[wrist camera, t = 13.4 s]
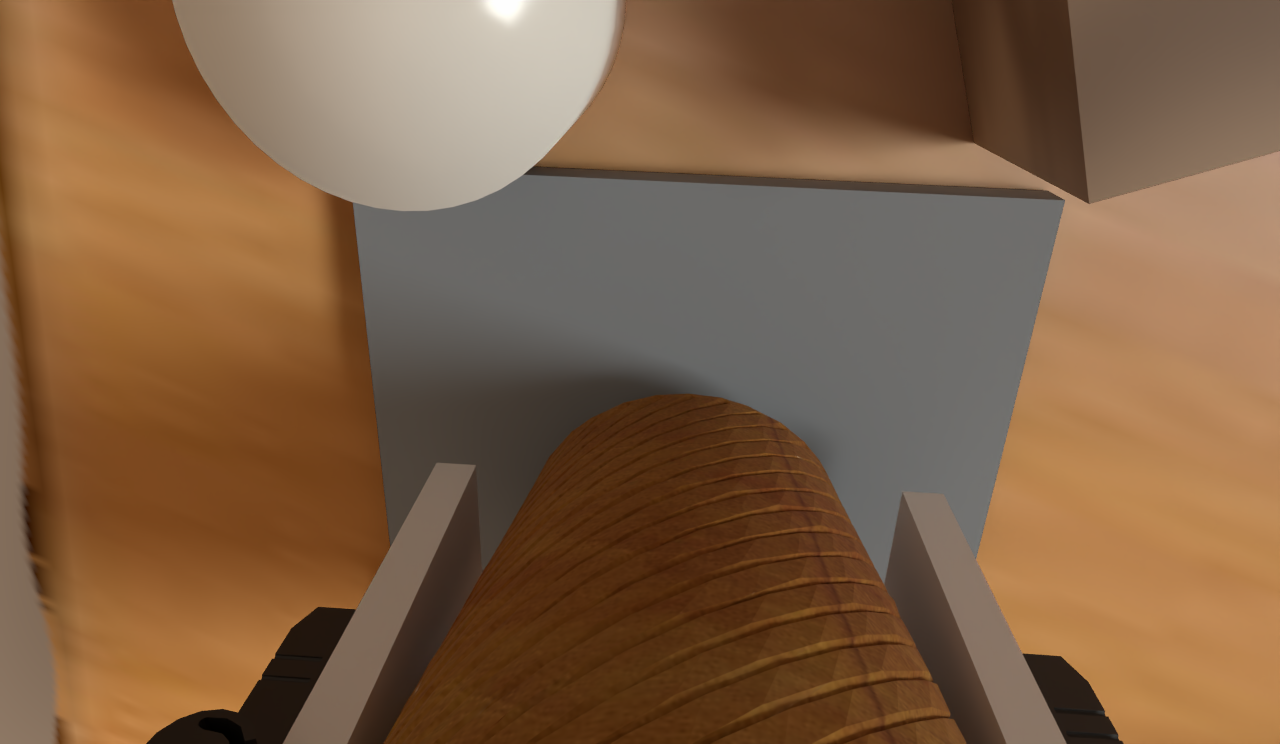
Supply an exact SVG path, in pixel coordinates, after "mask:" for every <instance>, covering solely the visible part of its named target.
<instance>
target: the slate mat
mask: <svg viewBox="0 0 1280 744" xmlns="http://www.w3.org/2000/svg"><path fill="white" fill-rule="evenodd" d="M1064 202H1065V200H1063V199H1062V198H1060V197H1058V196H1056V195H1054V194H1053V193H1051V192H1049V191H1042V190H1021V189H999V188H978V187H957V186H935V185H914V184H893V183H871V182H850V181H829V180H807V179H786V178H765V177H743V176H722V175H701V174H679V173H658V172H637V171H615V170H594V169H573V168H551V167H532V168H530V169H529V170H528V171H527V172H526V173H525V174H523V175H522V176H521V177H519V178H518V179H516V180H514V181H513V182H511V183H510V184H508V185H507V186H505V187H504V188H502V189H500V190H498V191H496V192H494V193H492V194H489V195H487V196H485V197H483V198H481V199H478V200H475V201H472V202H469V203H465V204H462V205H458V206H455V207H450V208H443V209H437V210H430V211H397V210H388V209H380V208H374V207H370V206H366V205H362V204H358V203H354V202H353V209H354V218H355V227H356V236H357V246H358V255H359V264H360V273H361V282H362V291H363V301H364V310H365V319H366V328H367V337H368V347H369V356H370V365H371V374H372V383H373V392H374V402H375V411H376V420H377V429H378V438H379V448H380V457H381V466H382V475H383V484H384V493H385V503H386V512H387V521H388V530H389V539H390V547H391V545H392V543H393V542H394V540H395V538H396V536H397V534H398V533H399V531H400V529H401V527H402V525H403V523H404V522H405V520H406V518H407V516H408V514H409V512H410V511H411V509H412V507H413V505H414V503H415V501H416V500H417V498H418V496H419V494H420V492H421V491H422V489H423V487H424V485H425V483H426V481H427V480H428V478H429V476H430V474H431V472H432V470H433V469H434V467H435V465H436V463H451V464H468V465H476V472H477V491H478V509H479V527H480V546H481V564H482V572H483V570H484V569H485V567H486V566H487V564H488V563H489V561H490V560H491V558H492V556H493V554H494V553H495V551H496V549H497V548H498V546H499V544H500V542H501V541H502V539H503V537H504V535H505V534H506V532H507V530H508V529H509V527H510V525H511V523H512V522H513V520H514V518H515V516H516V515H517V513H518V511H519V509H520V508H521V506H522V504H523V503H524V501H525V499H526V497H527V496H528V494H529V492H530V490H531V489H532V487H533V485H534V483H535V482H536V480H537V478H538V476H539V474H540V472H541V471H542V469H543V467H544V465H545V463H546V462H547V460H548V458H549V456H550V455H551V454H552V453H553V452H554V451H555V450H556V448H557V447H558V446H559V445H560V444H561V443H562V442H563V441H564V439H565V438H566V437H567V436H568V435H569V434H570V433H571V432H572V431H573V430H575V429H576V428H577V427H579V426H580V425H582V424H583V423H585V422H586V421H587V420H589V419H590V418H592V417H594V416H596V415H598V414H601V413H603V412H605V411H607V410H609V409H611V408H613V407H616V406H618V405H620V404H622V403H624V402H628V401H632V400H637V399H641V398H645V397H650V396H654V395H668V394H697V395H704V396H712V397H720V398H724V399H727V400H731V401H734V402H737V403H740V404H743V405H747V406H749V407H751V408H753V409H755V410H757V411H759V412H761V413H763V414H765V415H767V416H769V417H771V418H773V419H775V420H777V421H779V422H781V423H782V424H783V425H784V426H786V427H787V428H788V429H789V430H791V431H792V432H793V433H794V434H796V435H797V436H798V437H799V438H800V439H802V440H803V441H804V442H805V443H806V444H807V446H808V447H809V448H810V449H811V451H812V452H813V453H814V454H815V455H816V457H817V458H818V459H819V461H820V462H821V464H822V466H823V467H824V469H825V471H826V473H827V475H828V477H829V479H830V481H831V483H832V485H833V487H834V489H835V491H836V493H837V495H838V497H839V499H840V501H841V503H842V506H843V507H844V509H845V511H846V513H847V515H848V517H849V519H850V521H851V523H852V525H853V526H854V528H855V530H856V532H857V534H858V536H859V538H860V540H861V542H862V544H863V546H864V547H865V549H866V551H867V553H868V555H869V557H870V559H871V561H872V563H873V565H874V567H875V569H876V570H877V572H878V574H879V576H880V578H881V580H882V581H883V583H885V577H886V572H887V567H888V562H889V557H890V552H891V547H892V542H893V537H894V531H895V526H896V521H897V516H898V511H899V506H900V501H901V496H902V491H905V492H921V493H937V494H944V496H945V498H946V500H947V502H948V504H949V506H950V508H951V510H952V512H953V514H954V516H955V518H956V520H957V522H958V524H959V526H960V529H961V531H962V533H963V535H964V537H965V539H966V541H967V543H968V545H969V547H970V549H971V551H972V553H973V555H974V557H975V559H976V557H977V553H978V549H979V545H980V541H981V537H982V533H983V529H984V525H985V521H986V517H987V513H988V509H989V505H990V501H991V496H992V492H993V488H994V484H995V480H996V476H997V472H998V468H999V464H1000V460H1001V456H1002V452H1003V448H1004V444H1005V440H1006V436H1007V432H1008V428H1009V424H1010V420H1011V416H1012V412H1013V408H1014V404H1015V400H1016V396H1017V392H1018V388H1019V384H1020V380H1021V376H1022V372H1023V368H1024V364H1025V359H1026V355H1027V351H1028V347H1029V343H1030V339H1031V335H1032V331H1033V327H1034V323H1035V319H1036V315H1037V311H1038V307H1039V303H1040V299H1041V295H1042V291H1043V287H1044V283H1045V279H1046V275H1047V271H1048V267H1049V263H1050V259H1051V255H1052V251H1053V247H1054V243H1055V239H1056V235H1057V231H1058V227H1059V223H1060V218H1061V214H1062V210H1063V206H1064Z"/></svg>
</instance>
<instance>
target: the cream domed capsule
mask: <svg viewBox="0 0 1280 744" xmlns="http://www.w3.org/2000/svg"><path fill="white" fill-rule="evenodd" d="M172 1H173V5H174V10H175V14H176V17H177V20H178V22H179V25H180V28H181V31H182V34H183V37H184V39H185V42H186V45H187V47H188V49H189V51H190V53H191V55H192V57H193V59H194V62H195V64H196V66H197V68H198V70H199V72H200V74H201V75H202V77H203V79H204V80H205V82H206V83H207V85H208V87H209V88H210V90H211V92H212V93H213V95H214V96H215V98H216V100H217V101H218V102H219V103H220V105H221V106H222V107H223V109H224V110H225V111H226V113H227V114H228V115H229V116H230V118H231V119H232V120H233V122H234V123H235V124H236V125H237V126H238V127H239V128H240V129H241V130H242V131H243V132H244V133H245V135H246V136H247V137H248V138H249V139H250V140H251V141H252V142H253V143H254V144H255V145H256V146H257V147H259V148H260V149H261V150H262V151H263V152H264V153H266V154H267V155H268V156H269V157H270V158H272V159H273V160H274V161H275V162H276V163H277V164H279V165H280V166H282V167H283V168H285V169H286V170H288V171H289V172H291V173H292V174H294V175H295V176H297V177H298V178H300V179H301V180H303V181H305V182H307V183H309V184H311V185H313V186H315V187H317V188H319V189H320V190H322V191H324V192H326V193H329V194H332V195H334V196H337V197H340V198H342V199H345V200H348V201H350V202H354V203H358V204H362V205H366V206H370V207H374V208H380V209H388V210H397V211H430V210H437V209H443V208H450V207H455V206H458V205H462V204H465V203H469V202H472V201H475V200H478V199H481V198H483V197H485V196H487V195H489V194H492V193H494V192H496V191H498V190H500V189H502V188H504V187H505V186H507V185H508V184H510V183H511V182H513V181H514V180H516V179H518V178H519V177H521V176H522V175H523V174H525V173H526V172H527V171H528V170H529V169H530V168H532V167H533V166H534V165H535V164H536V163H537V162H539V161H540V160H541V159H542V158H543V157H544V156H545V155H546V154H547V153H548V152H549V150H550V149H551V148H552V147H553V146H554V145H555V144H556V143H557V142H558V141H559V140H560V139H561V137H562V136H563V135H564V134H565V133H566V132H567V131H568V130H569V129H570V128H571V127H572V126H573V124H574V123H575V122H576V121H577V120H578V119H579V118H580V117H581V116H582V114H583V113H584V112H585V111H586V110H587V109H588V108H589V107H590V105H591V104H592V102H593V101H594V99H595V98H596V96H597V95H598V93H599V92H600V91H601V89H602V88H603V86H604V84H605V82H606V80H607V77H608V75H609V73H610V71H611V69H612V67H613V64H614V62H615V59H616V56H617V53H618V50H619V47H620V43H621V38H622V34H623V29H624V24H625V14H626V3H627V0H172Z"/></svg>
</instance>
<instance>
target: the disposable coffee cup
mask: <svg viewBox="0 0 1280 744" xmlns="http://www.w3.org/2000/svg"><path fill="white" fill-rule="evenodd" d="M932 681H933V679H932V677H931V674H930V672H929V670H928V668H927V666H926V664H925V663H924V661H923V659H922V657H921V655H920V653H919V651H918V650H917V648H916V645H915V643H914V641H913V639H912V637H911V635H910V633H909V632H908V630H907V628H906V626H905V624H904V622H903V620H901V618H900V615H899V612H898V609H897V606H896V603H895V601H894V600H893V598H892V597H891V596H890V595H889V594H888V592H887V590H886V588H885V585H884V583H883V581H882V580H881V578H880V576H879V574H878V572H877V570H876V569H875V567H874V565H873V563H872V561H871V559H870V557H869V555H868V553H867V551H866V549H865V547H864V546H863V544H862V542H861V540H860V538H859V536H858V534H857V532H856V530H855V528H854V526H853V525H852V523H851V521H850V519H849V517H848V515H847V513H846V511H845V509H844V507H843V506H842V503H841V501H840V499H839V497H838V495H837V493H836V491H835V489H834V487H833V485H832V483H831V481H830V479H829V477H828V475H827V473H826V471H825V469H824V467H823V466H822V464H821V462H820V461H819V459H818V458H817V457H816V455H815V454H814V453H813V452H812V451H811V449H810V448H809V447H808V446H807V444H806V443H805V442H804V441H803V440H802V439H800V438H799V437H798V436H797V435H796V434H794V433H793V432H792V431H791V430H789V429H788V428H787V427H786V426H784V425H783V424H782V423H781V422H779V421H777V420H775V419H773V418H771V417H769V416H767V415H765V414H763V413H761V412H759V411H757V410H755V409H753V408H751V407H749V406H747V405H743V404H740V403H737V402H734V401H731V400H727V399H724V398H720V397H712V396H704V395H697V394H668V395H654V396H650V397H645V398H641V399H637V400H632V401H628V402H624V403H622V404H620V405H618V406H616V407H613V408H611V409H609V410H607V411H605V412H603V413H601V414H598V415H596V416H594V417H592V418H590V419H589V420H587V421H586V422H585V423H583V424H582V425H580V426H579V427H577V428H576V429H575V430H573V431H572V432H571V433H570V434H569V435H568V436H567V437H566V438H565V439H564V441H563V442H562V443H561V444H560V445H559V446H558V447H557V448H556V450H555V451H554V452H553V453H552V454H551V455H550V456H549V458H548V460H547V462H546V463H545V465H544V467H543V469H542V471H541V472H540V474H539V476H538V478H537V480H536V482H535V483H534V485H533V487H532V489H531V490H530V492H529V494H528V496H527V497H526V499H525V501H524V503H523V504H522V506H521V508H520V509H519V511H518V513H517V515H516V516H515V518H514V520H513V522H512V523H511V525H510V527H509V529H508V530H507V532H506V534H505V535H504V537H503V539H502V541H501V542H500V544H499V546H498V548H497V549H496V551H495V553H494V554H493V556H492V558H491V560H490V561H489V563H488V564H487V566H486V567H485V569H484V570H483V572H482V574H481V576H480V577H479V579H478V581H477V583H476V584H475V586H474V588H473V590H472V591H471V593H470V595H469V597H468V598H467V600H466V602H465V604H464V605H463V607H462V609H461V611H460V613H459V614H458V616H457V618H456V620H455V621H454V623H453V625H452V627H451V628H450V630H449V632H448V634H447V635H446V637H445V639H444V640H443V642H442V644H441V646H440V647H439V649H438V651H437V652H436V654H435V655H434V657H433V658H432V660H431V661H430V662H429V664H428V666H427V668H426V669H425V671H424V673H423V675H422V677H421V679H420V680H419V682H418V684H417V686H416V688H415V689H414V691H413V692H412V694H411V695H410V697H409V698H408V700H407V702H406V704H405V705H404V707H403V709H402V711H401V713H400V715H399V716H398V718H397V720H396V722H395V724H394V726H393V727H392V729H391V731H390V733H389V734H388V736H387V738H386V740H385V742H384V743H383V744H967V743H966V741H965V739H964V737H963V735H962V733H961V732H960V730H959V728H958V726H957V724H956V722H955V720H954V719H948V718H949V717H950V711H949V709H948V707H947V704H946V702H945V700H944V698H943V696H942V693H941V691H940V689H939V687H938V685H937V684H935V683H933V682H932Z"/></svg>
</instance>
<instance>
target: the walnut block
mask: <svg viewBox="0 0 1280 744" xmlns="http://www.w3.org/2000/svg"><path fill="white" fill-rule="evenodd" d="M952 5H953V12H954V18H955V25H956V31H957V37H958V44H959V50H960V57H961V63H962V69H963V76H964V82H965V89H966V95H967V101H968V108H969V114H970V121H971V127H972V133H973V140H974V143H975V144H977V145H979V146H981V147H983V148H985V149H986V150H988V151H990V152H992V153H994V154H996V155H998V156H1000V157H1002V158H1003V159H1005V160H1007V161H1009V162H1011V163H1013V164H1015V165H1017V166H1019V167H1020V168H1022V169H1024V170H1026V171H1028V172H1030V173H1032V174H1034V175H1036V176H1037V177H1039V178H1041V179H1043V180H1045V181H1047V182H1049V183H1051V184H1053V185H1054V186H1056V187H1058V188H1060V189H1062V190H1064V191H1066V192H1068V193H1070V194H1071V195H1073V196H1075V197H1077V198H1079V199H1081V200H1083V201H1085V202H1087V203H1088V204H1091V203H1094V202H1098V201H1102V200H1105V199H1109V198H1112V197H1116V196H1120V195H1123V194H1127V193H1130V192H1134V191H1138V190H1141V189H1145V188H1148V187H1152V186H1156V185H1159V184H1163V183H1166V182H1170V181H1174V180H1177V179H1181V178H1184V177H1188V176H1192V175H1195V174H1199V173H1202V172H1206V171H1210V170H1213V169H1217V168H1220V167H1224V166H1228V165H1231V164H1235V163H1238V162H1242V161H1246V160H1249V159H1253V158H1256V157H1260V156H1264V155H1267V154H1271V153H1274V152H1278V151H1280V0H952Z"/></svg>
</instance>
